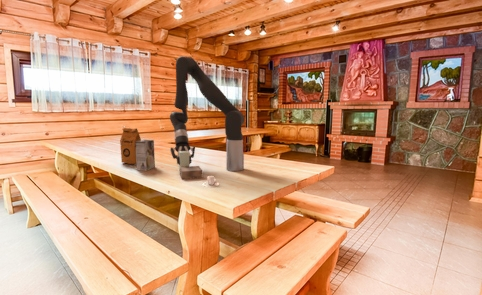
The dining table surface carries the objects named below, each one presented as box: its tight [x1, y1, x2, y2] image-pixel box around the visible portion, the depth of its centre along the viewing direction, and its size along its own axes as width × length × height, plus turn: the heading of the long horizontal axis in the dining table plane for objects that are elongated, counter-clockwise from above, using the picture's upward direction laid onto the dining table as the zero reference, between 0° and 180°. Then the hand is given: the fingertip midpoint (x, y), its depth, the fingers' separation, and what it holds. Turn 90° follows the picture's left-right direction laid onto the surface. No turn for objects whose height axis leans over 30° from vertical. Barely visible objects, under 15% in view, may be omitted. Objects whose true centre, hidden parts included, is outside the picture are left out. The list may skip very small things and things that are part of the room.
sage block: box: [178, 150, 190, 172], centre depth 145 cm, size 5×5×11 cm
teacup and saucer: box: [201, 175, 220, 188], centre depth 123 cm, size 9×8×4 cm
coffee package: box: [119, 127, 142, 166], centre depth 163 cm, size 10×12×22 cm
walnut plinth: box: [179, 165, 203, 180], centre depth 136 cm, size 10×10×4 cm
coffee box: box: [135, 139, 156, 172], centre depth 150 cm, size 9×6×16 cm
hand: (184, 163), depth 143 cm, fingers closed on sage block, 5 cm apart
